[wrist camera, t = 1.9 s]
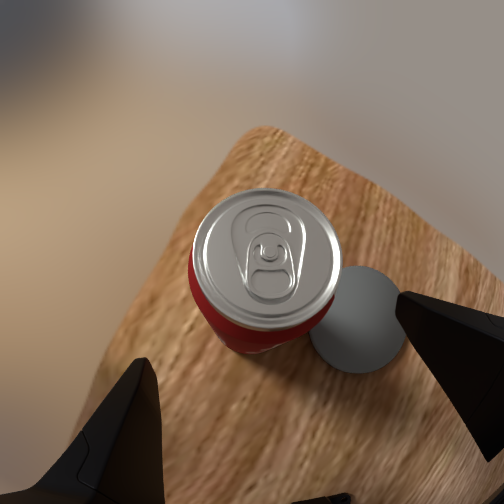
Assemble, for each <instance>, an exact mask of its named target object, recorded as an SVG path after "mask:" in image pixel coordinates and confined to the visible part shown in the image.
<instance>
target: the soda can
mask: <svg viewBox="0 0 504 504" xmlns="http://www.w3.org/2000/svg"><path fill="white" fill-rule="evenodd" d="M342 263H343V258H342V250H341V245H340V241H339V238H338V236H337V233H336V231H335V229H334V227H333V226H332V224H331V223H330V221H329V220H328V219H327V217H326V216H325V215H324V214H323V213H322V212H321V211H320V210H319V209H318V208H317V207H316V206H315V205H313V204H312V203H311V202H309V201H308V200H306V199H304V198H302V197H300V196H298V195H296V194H294V193H291V192H288V191H284V190H280V189H273V188H257V189H250V190H245V191H242V192H239V193H236V194H233V195H231V196H229V197H227V198H226V199H224V200H223V201H221V202H220V203H218V204H217V205H216V206H215V207H214V208H213V209H212V210H211V211H210V212H209V213H208V214H207V215H206V217H205V218H204V219H203V221H202V223H201V224H200V226H199V229H198V231H197V233H196V236H195V240H194V243H193V246H192V249H191V252H190V256H189V263H188V278H189V284H190V289H191V292H192V295H193V297H194V300H195V302H196V304H197V306H198V307H199V309H200V311H201V312H202V314H203V315H204V317H205V318H206V320H207V321H208V323H209V324H210V326H211V327H212V329H213V330H214V332H215V333H216V335H217V336H218V338H219V339H220V340H221V342H222V343H223V344H225V345H226V346H227V347H228V348H230V349H232V350H234V351H236V352H239V353H243V354H258V353H262V352H265V351H267V350H270V349H272V348H274V347H277V346H279V345H282V344H284V343H286V342H289V341H291V340H293V339H296V338H298V337H300V336H302V335H303V334H305V333H307V332H308V331H310V330H311V329H312V328H313V327H315V326H316V325H317V324H318V323H319V322H320V321H321V320H322V319H323V317H324V316H325V315H326V313H327V312H328V310H329V309H330V307H331V305H332V303H333V301H334V298H335V295H336V292H337V288H338V284H339V281H340V278H341V273H342Z"/></svg>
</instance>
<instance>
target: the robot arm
mask: <svg viewBox="0 0 504 504" xmlns="http://www.w3.org/2000/svg"><path fill="white" fill-rule="evenodd" d="M395 316H396V318H397V320H398V322H399V323H400V325H401V327H402V328H403V330H404V332H405V333H406V335H407V337H408V338H409V340H410V342H411V344H412V345H413V347H414V348H415V350H416V351H417V353H418V354H419V355H420V357H421V358H422V360H423V361H424V362H425V364H426V365H427V367H428V368H429V370H430V371H431V372H432V374H433V375H434V377H435V378H436V380H437V381H438V383H439V384H440V386H441V387H442V389H443V390H444V392H445V393H446V395H447V396H448V398H449V399H450V401H451V402H452V404H453V406H454V407H455V409H456V410H457V412H458V413H459V415H460V417H461V418H462V420H463V421H464V423H465V424H466V427H467V428H468V430H469V432H470V433H471V435H472V437H473V438H474V440H475V442H476V444H477V445H478V447H479V449H480V451H481V452H482V454H483V456H484V458H485V460H486V461H487V462H490V461H491V460H492V459H493V458H494V457H495V456H496V455H497V454H498V453H499V452H500V451H501V450H502V449H503V448H504V317H500V316H496V315H492V314H489V313H484V312H482V311H478V310H475V309H471V308H468V307H464V306H461V305H457V304H453V303H450V302H446V301H443V300H439V299H436V298H432V297H429V296H425V295H422V294H418V293H414V292H411V291H405V292H402V293H399V294H398V296H397V301H396V308H395ZM82 430H83V431H80V432H79V434H78V435H77V437H76V438H75V439H74V441H73V442H72V443H71V444H70V446H69V447H68V448H67V450H66V451H65V452H64V453H63V454H62V455H61V457H60V458H59V459H58V460H57V461H56V463H55V464H54V465H53V466H52V467H51V468H50V469H49V470H48V471H47V473H46V474H45V475H44V476H43V477H42V478H41V479H40V480H39V481H38V482H37V483H36V484H35V485H34V486H32V487H30V488H28V489H26V490H22V491H17V492H12V493H7V494H2V495H0V504H165V498H164V484H163V464H162V422H161V411H160V402H159V393H158V382H157V377H156V374H155V372H154V370H153V368H152V366H151V364H150V362H149V360H148V359H147V358H146V357H143V358H137V359H135V360H134V361H133V362H132V363H131V364H130V366H129V367H128V368H127V370H126V371H125V372H124V374H123V375H122V376H121V378H120V379H119V380H118V381H117V383H116V384H115V385H114V387H113V388H112V389H111V391H110V392H109V393H108V395H107V396H106V397H105V399H104V400H103V401H102V403H101V404H100V405H99V407H98V408H97V409H96V411H95V412H94V413H93V415H92V416H91V418H90V419H89V420H88V422H87V423H86V424H85V426H84V427H83V428H82ZM344 497H346V498H345V499H344V500H341V499H342V498H344ZM350 502H351V497H350V496H349V495H348V494H347V493H341V494H337V495H333V496H329V497H325V496H324V497H319V498H314V499H309V500H304V501H298V502H293V503H291V504H350ZM482 504H504V483H503V484H502V485H501V486H500V487H499V488H498V489H497V490H496V491H495V492H494V493H493V494H492V495H491V496H490V497H489V498H488V499H487V500H486V501H484V502H483V503H482Z"/></svg>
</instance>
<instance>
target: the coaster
mask: <svg viewBox="0 0 504 504" xmlns="http://www.w3.org/2000/svg"><path fill="white" fill-rule="evenodd" d="M399 293H400V291H399V290H398V288H397V287H396V285H395V284H394V283H393V282H392V281H391V280H390V279H389V278H388V277H387V276H385V275H384V274H383V273H381V272H379V271H377V270H375V269H373V268H369V267H365V266H350V267H346V268H342V273H341V278H340V281H339V284H338V288H337V292H336V295H335V298H334V301H333V303H332V305H331V307H330V309H329V310H328V312H327V313H326V315H325V316H324V317H323V319H322V320H321V321H320V322H319V323H318V324H317V325H316V326H315V327H313V328H312V329H311V330H310V331H309V335H310V338H311V341H312V344H313V346H314V348H315V349H316V351H317V352H318V354H319V355H320V356H321V357H322V359H323V360H325V361H326V362H327V363H328V364H329V365H331V366H332V367H334V368H336V369H338V370H341V371H344V372H348V373H368V372H372V371H375V370H378V369H380V368H382V367H383V366H385V365H386V364H388V363H389V362H390V361H391V360H392V359H393V358H394V357H395V356H396V355H397V353H398V352H399V350H400V348H401V346H402V344H403V342H404V339H405V336H406V333H405V332H404V330H403V328H402V327H401V325H400V323H399V322H398V320H397V318H396V316H395V308H396V301H397V296H398V294H399Z"/></svg>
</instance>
